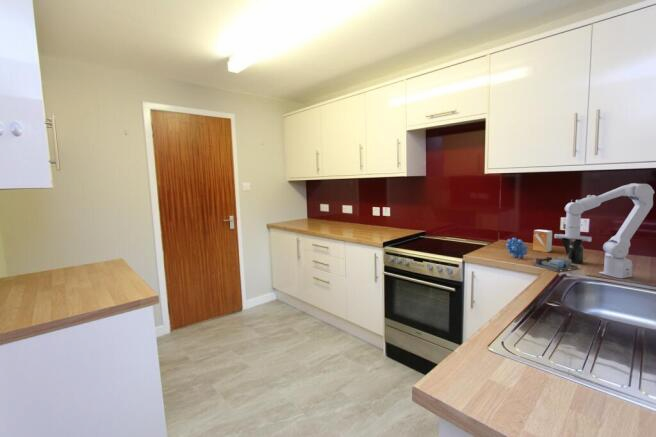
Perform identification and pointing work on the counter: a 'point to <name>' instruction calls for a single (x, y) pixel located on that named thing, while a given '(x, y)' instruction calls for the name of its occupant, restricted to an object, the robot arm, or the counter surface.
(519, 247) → the grapes
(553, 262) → the blue-grey rectangular block
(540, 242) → the small box
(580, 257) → the supplement bottle
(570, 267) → the heatsink base
